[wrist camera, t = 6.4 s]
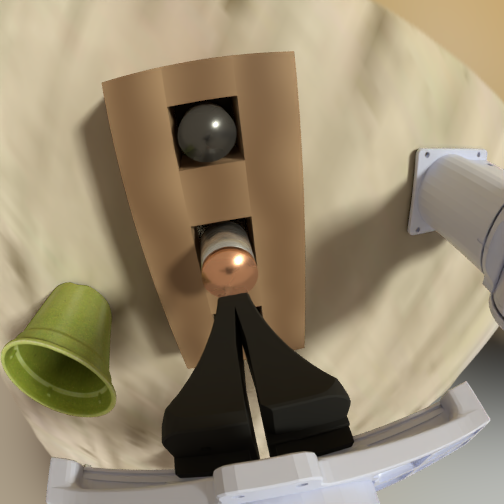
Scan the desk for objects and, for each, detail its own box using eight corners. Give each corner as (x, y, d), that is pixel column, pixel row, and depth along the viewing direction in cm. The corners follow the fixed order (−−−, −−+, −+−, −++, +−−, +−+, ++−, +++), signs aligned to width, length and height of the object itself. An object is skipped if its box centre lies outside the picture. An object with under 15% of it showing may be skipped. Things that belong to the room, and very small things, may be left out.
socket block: (276, 56, 17) (294, 51, 13) (292, 316, 29) (304, 347, 25) (120, 81, 16) (101, 82, 13) (187, 335, 28) (187, 368, 24)
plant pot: (89, 354, 28) (74, 425, 20) (20, 297, 23) (-14, 366, 15) (150, 318, 26) (142, 400, 19) (73, 244, 21) (32, 321, 14)
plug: (226, 98, 17) (232, 102, 14) (232, 144, 19) (239, 157, 16) (178, 106, 17) (173, 112, 14) (185, 151, 18) (182, 167, 15)
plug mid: (245, 217, 19) (255, 247, 16) (250, 258, 20) (260, 293, 17) (196, 225, 18) (196, 258, 15) (205, 266, 20) (207, 302, 17)
